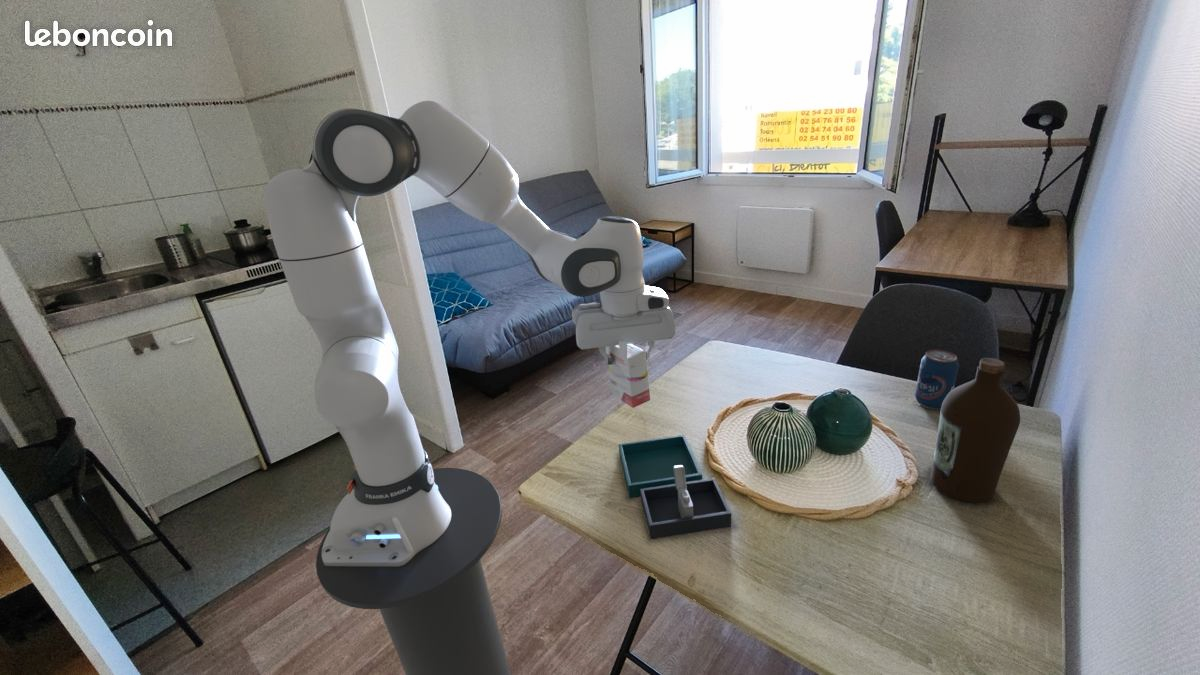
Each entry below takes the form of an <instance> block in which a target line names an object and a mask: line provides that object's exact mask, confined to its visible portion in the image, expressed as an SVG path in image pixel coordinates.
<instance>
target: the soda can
mask: <svg viewBox="0 0 1200 675" xmlns="http://www.w3.org/2000/svg"><path fill="white" fill-rule="evenodd" d="M959 368H960V363H959V361H958V356H957V355H956V354H955V353H953V352H950V351H948V350H945V349H930V350H927V351H926V352H925V354H924V355H923V357H922V358H921V360H920V365H919V370H918V375H917V379H916V380H917V381H916V386H915V392H914V397H915V399H916V401H917V403H918V404H919V405H920V406H921V407H923V408H927V409H930V410H941V406H942V403H943V401H944V399H945V398H946V396H947V395H948V393H949V392H950V391H952V390H953V389H954V388H955V386H956V380H957V377H958V372H959Z"/></svg>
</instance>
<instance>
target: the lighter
mask: <svg viewBox="0 0 1200 675" xmlns="http://www.w3.org/2000/svg"><path fill="white" fill-rule="evenodd" d="M673 470H674V478H675V485H676V489H677V490H678V510H679V513H680V516H681V519H682V518H688V517H693V504H692V501H691V498H690V496H689V493H688V491H687V490H686V489H687V485H686V478H685V470H684V467H683V466H682V465H678V466H674V467H673Z"/></svg>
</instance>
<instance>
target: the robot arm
mask: <svg viewBox="0 0 1200 675" xmlns="http://www.w3.org/2000/svg"><path fill="white" fill-rule="evenodd" d="M309 157H310V158H309V160H308V164H307V165H304V166H302V167H299V168H294V169H293V168H292V169H288V170H284V171H282V172H279V173H278V174H277V175H275V176H274V177H272V178H271V179H270V180H269V181H268V182H267V184H266V185H265V188H264V203H265V210H266V211H265V212H266V216H267V221H268V226H269V230H270V234H271V238H272V241H273V245H274V248H275V252H276V255H277V258H278V260H279V263H280V266H281V268H282V272H283V274H284V276H285V280H286V282H287V285H288V287H289V290H290V293H291V296H292V298H293V301H294V304H295V306H296V309H297V311H298V313H299V314H301V315H302V316H303V317H304V318H305V319H306V321H307V322H308V324H309V326H310V327H311V329H312V330H313V332H314V334H315V335H316V337H317V339H318V341H319V344H320V347H321V350H322V352H321V353H322V360H321V362H320V365H319V368H318V370H317V373H316V375H315V378H314V399H315V405H316V408H317V410H318V412H319V414H320V416H322V418H323V419H324V420H325V421H327V422H328V423H329V424H331V425H333V426H334V427H335V428H336V429H337V431H338V433H340V435H341V437H342V439H343V440H344V442H345V444H346V446H347V450H348V451H349V454H350V458H351V459H352V462H353V469H354V471H353V472H352V474H351V476H350V478H349V483H348V485H347V487H346V491H348V493H346V495H344V497H343V498H341V501H340V502H339V503H338V505H337V506H336V508H335V510H334V513H333V514H332V518H331V521H330V527H329V528H330V531H329V533H328V535H327V537H326V539H325V541H324V544H323V548H322V560H323V563H324V565H325V566H375V567H399V566H403V565H404V564H406V563H407V562H408V561H409V560H410V559H411V558H412V557H413V556H414V555H415V554H416V553H418V552H419V551H421V550H422V549H424V548H426V547H427V546H429V545H431V544H432V543H433V542H435V541H436V540H437V539H438V538H439V537H440V536H441V535H442V534H443V533H444V532H445V530H446V529H447V527H448V525H449V523H450V521H451V509H450V507H449V505H448V504H447V503H446V502H445V500H444V499H443V498H442V496H441V494H440V492H439V491H438V486H437V485H436V484H435V482H434V473H433V469H434V468H433V466H432V463H431V462H430V461H431V460H430V459H429V458H430V457H429V455H428V453H427V451H426V450H425V449H424V447H423V444H422V441H421V440H422V439H421V437H420V434H419V430H418V427H417V423H416V420H415V417H414V416H413V414H412V413H411V411H410V410H409V408H408V406H407V404H406V402H405V399H404V395H403V394H402V391H401V387H400V382H399V372H398V371H399V370H398V367H399V354H400V353H399V352H400V351H399V347H398V346H399V345H398V343H397V339H396V336H395V334H394V331H393V329H392V326H391V323H390V320H389V318H388V315H387V313H386V310H385V308H384V306H383V303H382V300H381V298H380V295H379V293H378V289H377V287H376V286H377V285H376V283H375V279H374V277H373V273H372V269H371V266H370V262H369V259H368V255H367V252H366V249H365V245H364V242H363V238H362V236H361V232H360V229H359V225H358V221H357V215H356V214H357V213H356V207H357V203H358V201H359V199H360V197H376V196H380V195H383V194H386V193H388V192H389V191H391V190H393V189H395V188H396V187H397V186H398V185H400V184H401V183H403V182H404V181H406V180H408V179H410V178H411V177H412V176H414V177H416V178H418V179H420V180H421V181H422V182H424V183H426V184H427V185H429V186H430V187H431V188H432V189H433V190H435V191H436V192H437V193H438V194H439V195H441V196H442V197H443V198H444V199H445V200H447V201H448V202H449V203H451V204H452V205H453V206H455V207H456V208H457V209H459V210H461V211H462V212H464V213H465V214H467V215H468V216H470V217H472V218H474V219H476V220H478V221H480V222H482V223H488V224H490V225H493V226H495V227H496V228H498V229H499V230H500V231H502V232H503V233H504V234H505V235H506V236H508V238H510V239H511V240H512V241H514V243H516V244H517V245H518V246H519V247H520V248H521V249H523V251H524V252H525V253H526V254H527V255H528V257H529V258H530V260H531V263H532V265H533V267H534V269H535V271H536V272H537V274H538V276H540V277H541V278H542V279H543V280H545V281H546V282H548V283H550V284H554V285H555V286H557V287H558V288H560V289H561V290H563V291H565V292H566V293H569V294H570V295H572V296H575V297H577V298H578V297H579V298H587V297H592V296H594V295H596V294H599V296H600V301H593V302H589V303H580V304H579V303H578V306H577V305H576V306H575V307H574V308H572V310H571V321H572V323H573V324H574V326H575V341H576V346H577V347H578V348H579V349H580V350H592V349H597V348H598V351H599V353H600V355H601V356H602V357H603V358H604V363H605V366H608V365H612V364H613V362H612V355H611V354H607V353H606V347H608V346H616V345H619V340H620V341H622V342H624V343H626V344H640V343H646V346H645V348H644V349H643V350H645V351H646V359H647V361H650V353H651V351H652V350H653V349H654V346H655V342H656V341H657V342H658V341H662V340H663V341H665V340H672V339H673V338H674V337H675V335H676V333H677V332H676V331H677V330H676V329H677V328H676V322H675V316H674V313H673V311H672V309H671V308H670V299H669V296H668V294H667V293H666V292H665V291H664V290H663V289H662V288H660V287H656V286H650V285H646V283H645V279H644V275H643V266H644V263H645V262H644V248H643V238H642V233H641V229H640V226H639V225H638V223H637V222H636V221H635V220H633V219H630V218H628V217H622V216H616V215H615V216H614V215H610V216H609V215H608V216H607V215H605V216H602V217H599V218H597V220H596V223H595V224H594V225H593V226H592V227H591V228H590V229H589V230H588V231H587V232H586V233H584V234H583V235H582V236H580V237H579V238H574V237H573V236H571V235H570V234H567V233H564V232H561V231H557V230H554V229H552V228H550V227H549V226H548V225H546V223H544V222H543V221H542V220H541V219H540V218H539V217H538V216H537V215H536V214H535V213H534V212H533V211H532V210H531V209H529V208H528V207H527V205H525V203H524V202H523V201H522V200H521V198H520V196H519V191H520V190H519V189H520V182H519V176H518V174H517V172H516V171H515V170H514V167H513V166H512V165H511V164H510V162H509V161H508V160H507V158H506V157H505V156H504V155H503V154H502V153H501V152H500V151H499V150H498V149H497V148H496V147H495V146H494V145H493V144H492V143H491V142H490V141H489V140H488V139H487V138H486V137H484V135H482V134H481V132H479V131H478V130H477V129H475V128H474V127H473V126H471V124H469V123H468V122H467V121H466V120H464V119H463V118H462V117H460V116H459V115H458V114H456V113H454V112H453V111H452V110H450V109H448V108H447V107H445V106H444V105H442V104H440V103H439V102H436V101H434V100H422V101H419V102H416V103H414V104H413V105H411V106H409V107H408V108H407V109H406V110H405V111H404V112H403V113H402V114H401V116H400V117H399V118H396V117H393V116H389V115H384V114H380V113H377V112H374V111H370V110H366V109H359V108H349V107H348V108H342V109H338V110H334V111H333V112H330V113H329V114H328V115H326V116H325V117H324V118H323V119H322V120H321V121H320V122H319V124H318V125H317V127H316V129H315V132H314V136H313V143H312V150H311V154H310V156H309Z"/></svg>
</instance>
